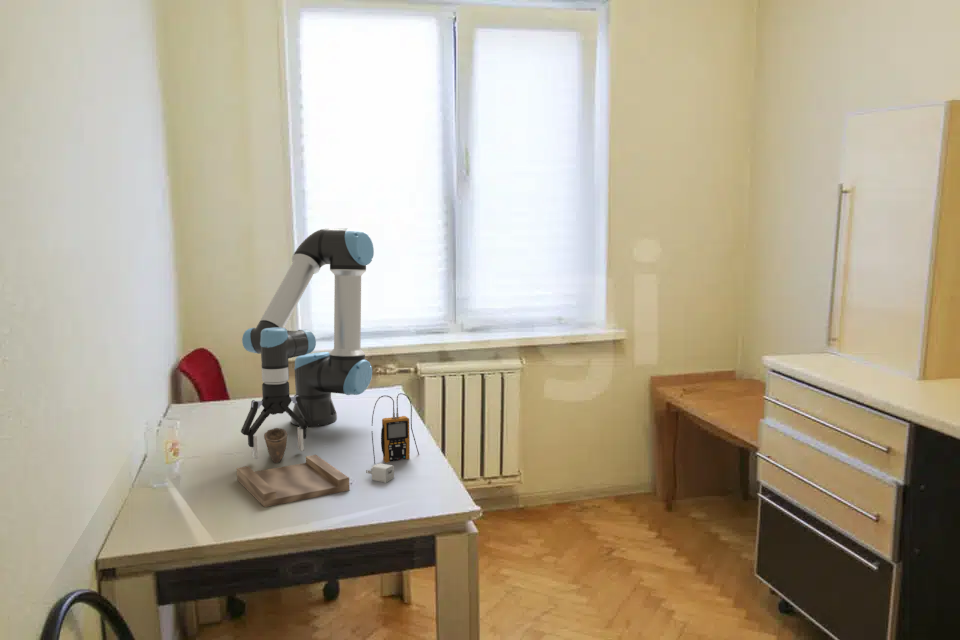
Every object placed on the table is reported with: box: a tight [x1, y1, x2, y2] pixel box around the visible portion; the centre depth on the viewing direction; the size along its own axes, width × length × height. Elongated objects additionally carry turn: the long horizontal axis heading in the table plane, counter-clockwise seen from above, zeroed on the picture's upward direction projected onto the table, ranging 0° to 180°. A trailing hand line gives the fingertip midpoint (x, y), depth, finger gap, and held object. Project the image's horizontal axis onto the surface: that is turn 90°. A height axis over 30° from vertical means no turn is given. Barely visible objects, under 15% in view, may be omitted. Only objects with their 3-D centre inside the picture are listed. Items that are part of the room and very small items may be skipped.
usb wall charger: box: [365, 462, 395, 483], centre depth 204 cm, size 4×7×4 cm, turn 62°
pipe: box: [263, 427, 288, 464], centre depth 222 cm, size 6×17×10 cm, turn 10°
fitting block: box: [236, 454, 351, 508], centre depth 200 cm, size 22×24×3 cm
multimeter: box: [371, 393, 420, 465], centre depth 214 cm, size 15×10×20 cm
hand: (278, 453), depth 222 cm, fingers open, 13 cm apart
